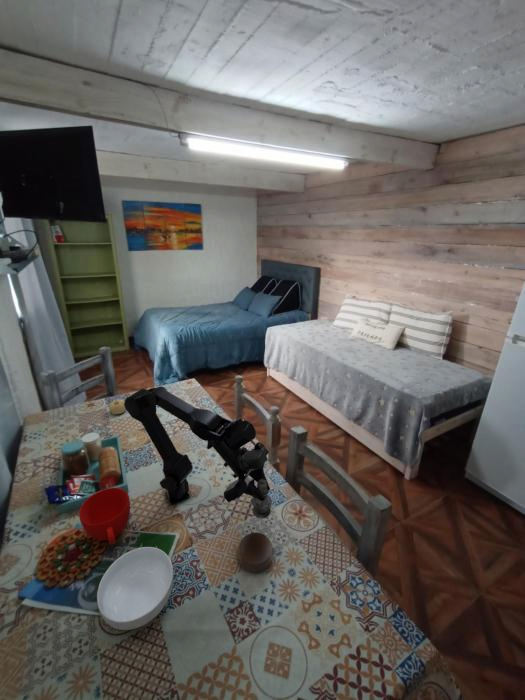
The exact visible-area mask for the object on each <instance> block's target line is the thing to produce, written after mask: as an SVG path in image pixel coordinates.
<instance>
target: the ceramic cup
mask: <svg viewBox="0 0 525 700" xmlns="http://www.w3.org/2000/svg"><path fill="white" fill-rule="evenodd" d="M130 514H131V501H130V496H129V493H128V492H127V491H126V490H124V489H123V488H120V487H109V488H104V489H101V490H99V491H97V492H95V493H93V494H92V495H90V496H89V497H88V498H87V499H86V500H85V501H84V502H83V503H82V504H81V506H80V509H79V512H78V517H79V520H80V524H81V526H82V528H83V530H84V531H85V533H86V534H87V535H88V536H89V537H91V538H92V539H94V540H96V541H108V543H109V545H114V544H115V543H116V537H118V536H119V535H120V534H121V533H122V532H123V530H125V528H126V526H127V525H128V522H129V519H130V516H131V515H130Z"/></svg>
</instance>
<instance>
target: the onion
mask: <svg viewBox="0 0 525 700" xmlns="http://www.w3.org/2000/svg"><path fill="white" fill-rule="evenodd" d="M124 403H125V399H123V398H117V399H114V400H113V401H111V402H110V403H109V405H108V409H109V412H110V413H112V415H120V414H123V413H125V412H126V411H127V410H126V409H125V406H124Z"/></svg>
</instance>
